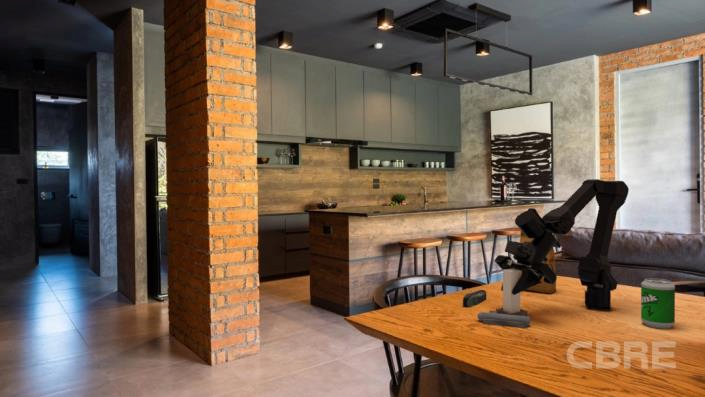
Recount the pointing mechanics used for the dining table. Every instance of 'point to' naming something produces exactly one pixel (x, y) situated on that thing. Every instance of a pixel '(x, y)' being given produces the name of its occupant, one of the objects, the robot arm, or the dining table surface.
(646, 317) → the soda can
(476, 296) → the mobile phone
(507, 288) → the pin
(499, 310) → the clamp board
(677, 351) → the dining table surface
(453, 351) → the dining table surface
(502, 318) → the grey domed rod
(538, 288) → the coffee package
